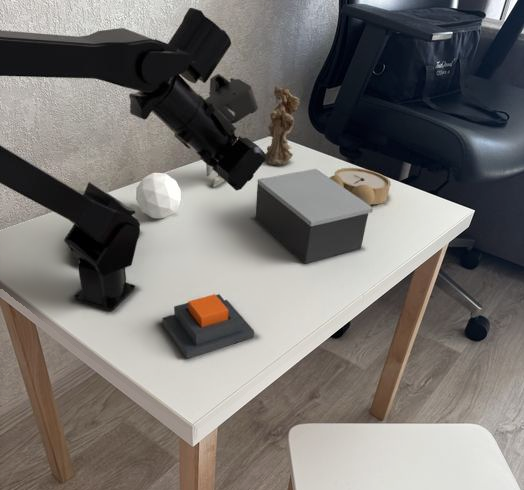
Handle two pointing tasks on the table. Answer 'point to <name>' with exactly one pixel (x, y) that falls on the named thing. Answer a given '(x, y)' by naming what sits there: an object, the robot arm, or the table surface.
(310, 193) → the lid
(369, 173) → the alarm clock
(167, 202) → the geometric ball
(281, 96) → the figurine
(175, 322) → the block
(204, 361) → the table surface
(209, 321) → the button
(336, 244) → the open storage box
